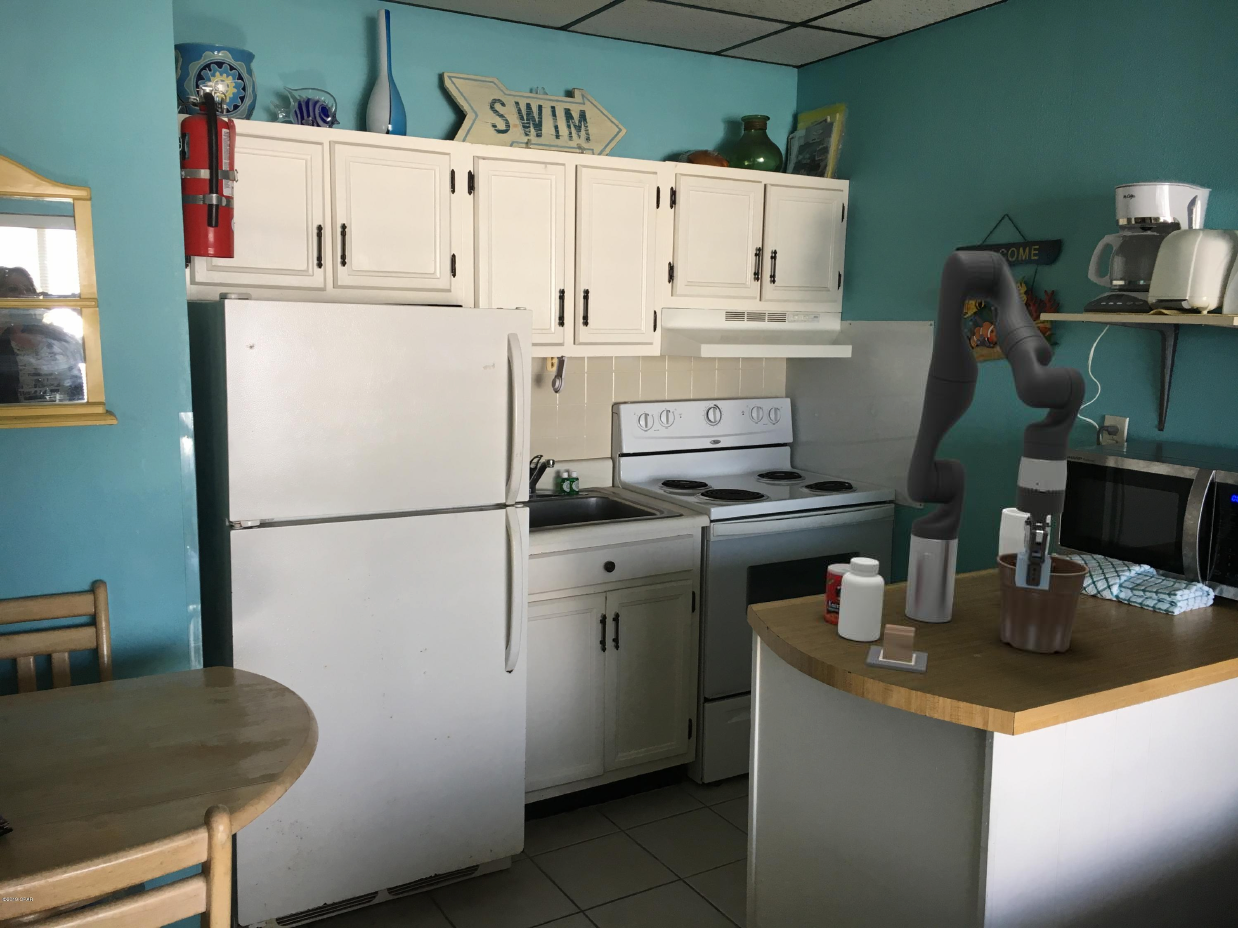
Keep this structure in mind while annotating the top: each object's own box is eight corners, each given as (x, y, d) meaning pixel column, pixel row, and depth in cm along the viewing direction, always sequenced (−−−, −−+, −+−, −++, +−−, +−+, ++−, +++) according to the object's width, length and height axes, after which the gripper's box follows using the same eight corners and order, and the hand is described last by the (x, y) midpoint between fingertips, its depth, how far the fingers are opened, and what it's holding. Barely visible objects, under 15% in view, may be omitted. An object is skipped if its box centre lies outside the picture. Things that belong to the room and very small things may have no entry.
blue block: (1015, 579, 171) (1017, 551, 170) (1046, 582, 169) (1048, 554, 169) (1016, 585, 166) (1019, 557, 166) (1048, 589, 165) (1051, 560, 164)
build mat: (871, 648, 181) (871, 644, 181) (927, 656, 178) (927, 652, 178) (865, 665, 172) (866, 661, 172) (925, 673, 169) (925, 669, 169)
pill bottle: (881, 644, 184) (887, 566, 182) (838, 640, 186) (843, 563, 184) (878, 631, 192) (884, 557, 190) (837, 627, 194) (842, 554, 191)
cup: (1047, 608, 213) (1056, 511, 210) (1038, 619, 205) (1048, 518, 202) (997, 600, 219) (1005, 505, 216) (987, 610, 210) (995, 512, 207)
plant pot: (1087, 662, 178) (1096, 576, 175) (992, 651, 182) (1000, 567, 180) (1073, 637, 193) (1081, 557, 191) (986, 627, 198) (993, 549, 195)
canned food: (821, 623, 196) (824, 570, 195) (828, 613, 204) (831, 561, 202) (859, 628, 194) (863, 574, 192) (865, 618, 201) (869, 566, 199)
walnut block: (884, 650, 178) (886, 624, 178) (912, 654, 177) (915, 627, 176) (882, 658, 174) (884, 631, 173) (911, 662, 172) (913, 635, 171)
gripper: (1015, 476, 173) (1006, 569, 176) (1019, 488, 160) (1009, 589, 162) (1061, 480, 171) (1051, 574, 173) (1069, 493, 157) (1058, 595, 160)
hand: (1031, 581), depth 168 cm, fingers closed on blue block, 5 cm apart
